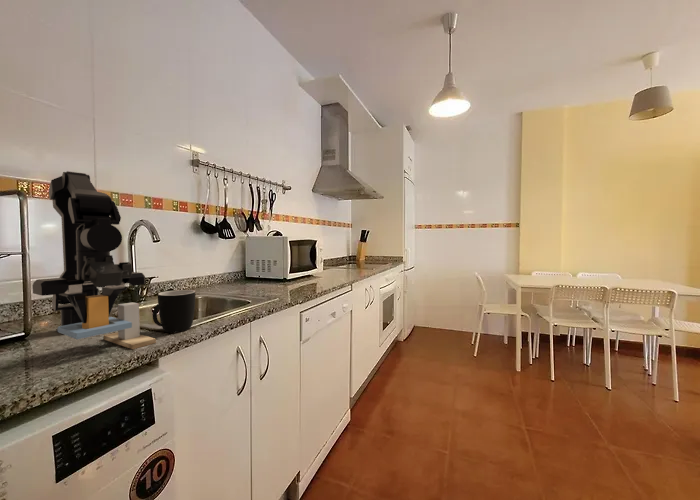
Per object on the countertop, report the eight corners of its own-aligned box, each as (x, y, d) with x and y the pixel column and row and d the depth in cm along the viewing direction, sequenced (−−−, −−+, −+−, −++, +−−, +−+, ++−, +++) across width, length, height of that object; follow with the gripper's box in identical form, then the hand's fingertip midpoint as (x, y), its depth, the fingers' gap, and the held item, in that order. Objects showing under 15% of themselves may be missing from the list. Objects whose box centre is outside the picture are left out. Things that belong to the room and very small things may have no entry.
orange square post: (82, 333, 69) (81, 297, 69) (101, 329, 72) (100, 294, 72) (89, 335, 68) (88, 298, 67) (109, 331, 71) (108, 296, 70)
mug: (177, 323, 91) (176, 289, 91) (203, 326, 89) (202, 290, 89) (139, 336, 80) (138, 296, 80) (168, 338, 78) (167, 298, 77)
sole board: (103, 339, 77) (103, 335, 77) (126, 334, 82) (126, 330, 82) (132, 349, 70) (132, 344, 70) (155, 342, 74) (155, 338, 74)
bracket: (58, 347, 68) (57, 311, 68) (126, 332, 80) (125, 301, 79) (77, 356, 63) (76, 316, 63) (147, 338, 75) (146, 305, 74)
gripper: (51, 253, 57) (53, 337, 58) (157, 250, 73) (158, 316, 74) (30, 252, 63) (32, 329, 64) (133, 249, 79) (134, 311, 80)
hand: (95, 320), depth 70 cm, fingers closed on orange square post, 4 cm apart
